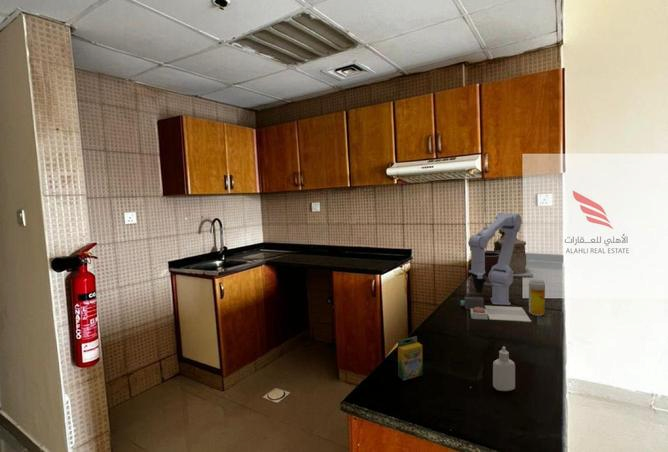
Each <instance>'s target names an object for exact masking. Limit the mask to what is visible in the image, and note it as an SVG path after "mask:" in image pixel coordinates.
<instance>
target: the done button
mask: <svg viewBox="0 0 668 452" xmlns="http://www.w3.org/2000/svg"><path fill="white" fill-rule="evenodd" d="M474 313H484V311H483V308H482V307H474Z"/></svg>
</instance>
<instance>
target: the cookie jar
mask: <svg viewBox="0 0 668 452" xmlns="http://www.w3.org/2000/svg"><path fill="white" fill-rule="evenodd" d="M498 232H499V235H501V236H500V238H498V239H497V240H495V241H494V242H493V245H494V248H493V251H494V252H493V253H499V254H500V252H501V248H502V244H503V240H504V236H505V232H504V231H502V230H501V228H500V229H498ZM526 245H527V242H526V241H525V240H520V239H518V238H517V237H516V241H515V245H514V249H513V252H512V256H511V260H510V264H509V267H510V268H511V269H512V270H513V277H519V278H520V277H522V278H532V279H534V278H533V276H534V273H532V272H531V271H530V269H529V268H528V267H527V254H526ZM502 272H504V271H502Z"/></svg>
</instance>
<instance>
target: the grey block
mask: <svg viewBox="0 0 668 452" xmlns="http://www.w3.org/2000/svg"><path fill="white" fill-rule="evenodd" d="M484 302H485V300H484V297H479V296H478V297H477V296H476V297H475V296H464V300H463V299H461V300H460V302H459V303H460V306H464V308H465V310H470V308H474V307H482V308H483V309H485V305H484V304H485V303H484Z"/></svg>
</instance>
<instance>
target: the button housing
mask: <svg viewBox="0 0 668 452" xmlns="http://www.w3.org/2000/svg"><path fill="white" fill-rule="evenodd" d="M469 310H470V317H471V319H473V320H489V317H488V314H487V311H486V309H485V308H484V309H483V311H484V313H474V308H470V309H469Z"/></svg>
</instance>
